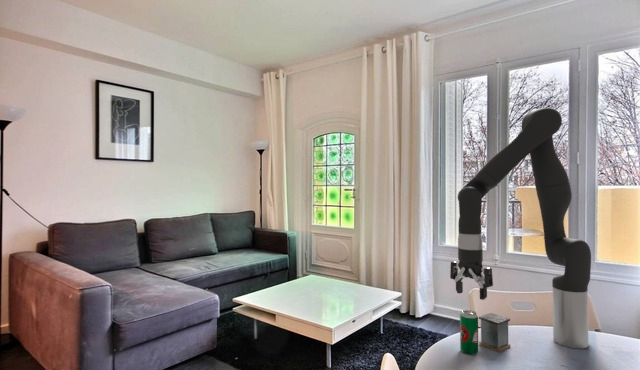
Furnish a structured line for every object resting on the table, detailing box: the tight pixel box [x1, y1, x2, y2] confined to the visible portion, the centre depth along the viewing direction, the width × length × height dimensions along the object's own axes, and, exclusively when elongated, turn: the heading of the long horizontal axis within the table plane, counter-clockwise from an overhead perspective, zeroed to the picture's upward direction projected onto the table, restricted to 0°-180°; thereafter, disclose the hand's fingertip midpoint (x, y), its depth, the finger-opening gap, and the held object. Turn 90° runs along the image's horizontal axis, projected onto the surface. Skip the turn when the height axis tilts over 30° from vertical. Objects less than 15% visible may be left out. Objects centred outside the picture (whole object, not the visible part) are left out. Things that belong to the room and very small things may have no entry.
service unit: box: [478, 312, 511, 353], centre depth 113 cm, size 6×6×9 cm
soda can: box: [459, 309, 479, 356], centre depth 109 cm, size 5×5×12 cm
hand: (470, 296), depth 119 cm, fingers open, 8 cm apart
